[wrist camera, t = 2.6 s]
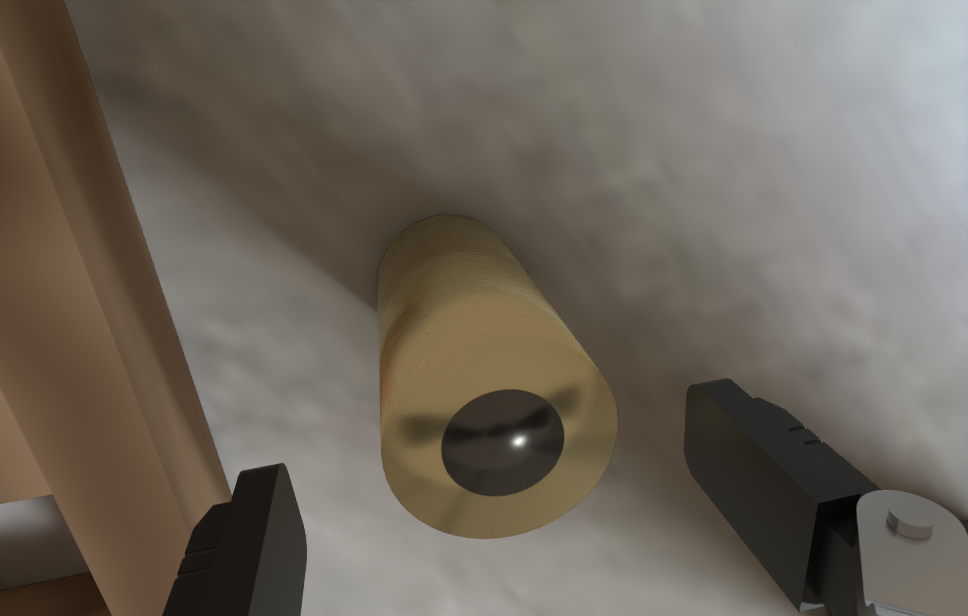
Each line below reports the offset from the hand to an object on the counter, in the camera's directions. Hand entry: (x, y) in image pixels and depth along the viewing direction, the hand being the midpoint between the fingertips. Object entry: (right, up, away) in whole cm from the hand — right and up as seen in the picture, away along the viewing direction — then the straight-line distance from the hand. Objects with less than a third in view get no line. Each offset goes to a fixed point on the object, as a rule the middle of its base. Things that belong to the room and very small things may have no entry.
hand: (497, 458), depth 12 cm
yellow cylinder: (-2, +4, +10) cm, 11 cm away
